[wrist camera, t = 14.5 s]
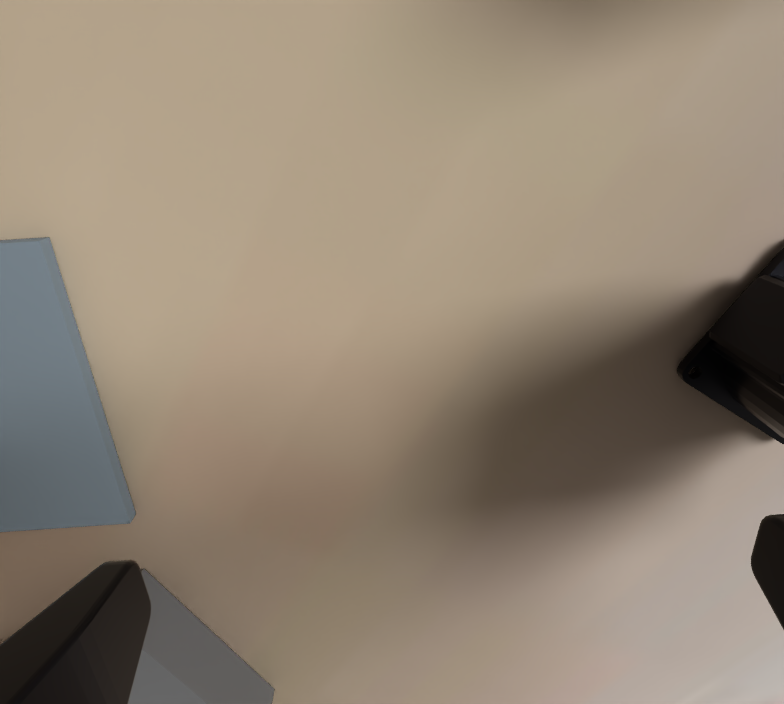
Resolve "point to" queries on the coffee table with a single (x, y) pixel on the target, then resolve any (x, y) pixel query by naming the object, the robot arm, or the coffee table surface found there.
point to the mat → (50, 405)
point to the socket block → (189, 660)
